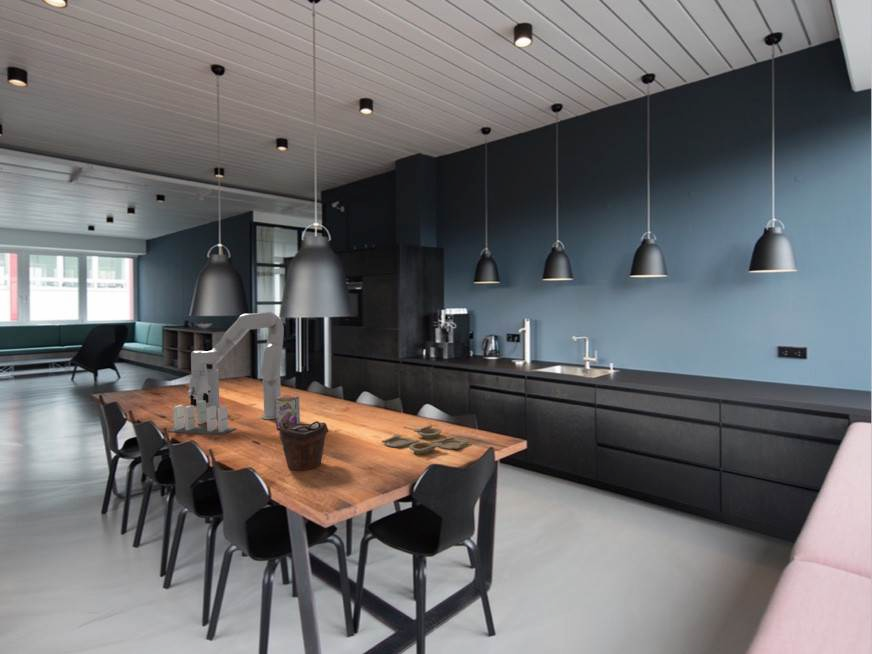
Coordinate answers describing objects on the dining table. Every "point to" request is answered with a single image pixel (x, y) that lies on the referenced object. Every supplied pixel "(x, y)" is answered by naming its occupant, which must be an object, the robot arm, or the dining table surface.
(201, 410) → the domino
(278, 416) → the candy bar box
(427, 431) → the tableware set
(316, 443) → the brown basket
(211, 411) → the domino
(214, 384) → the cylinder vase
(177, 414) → the domino
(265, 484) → the dining table surface
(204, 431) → the rubber mat
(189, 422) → the domino
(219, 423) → the domino
